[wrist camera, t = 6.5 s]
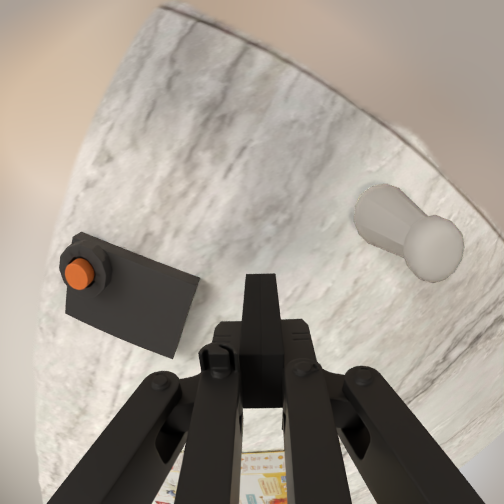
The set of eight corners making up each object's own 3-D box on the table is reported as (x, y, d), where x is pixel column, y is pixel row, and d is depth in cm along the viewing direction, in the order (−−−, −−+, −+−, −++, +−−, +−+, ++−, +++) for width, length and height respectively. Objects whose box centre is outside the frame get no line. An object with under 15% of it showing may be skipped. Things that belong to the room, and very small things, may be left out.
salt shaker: (365, 249, 30) (424, 315, 18) (335, 203, 29) (388, 249, 16) (409, 215, 29) (486, 262, 17) (382, 168, 27) (460, 192, 15)
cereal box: (296, 518, 42) (157, 514, 44) (295, 496, 48) (162, 495, 49) (295, 473, 36) (117, 467, 38) (292, 446, 41) (126, 444, 43)
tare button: (70, 277, 28) (63, 283, 27) (73, 254, 27) (65, 259, 26) (92, 287, 29) (86, 294, 27) (96, 263, 28) (89, 270, 26)
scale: (70, 304, 33) (56, 319, 30) (79, 227, 30) (62, 237, 27) (176, 349, 35) (169, 368, 31) (201, 274, 31) (194, 290, 28)
